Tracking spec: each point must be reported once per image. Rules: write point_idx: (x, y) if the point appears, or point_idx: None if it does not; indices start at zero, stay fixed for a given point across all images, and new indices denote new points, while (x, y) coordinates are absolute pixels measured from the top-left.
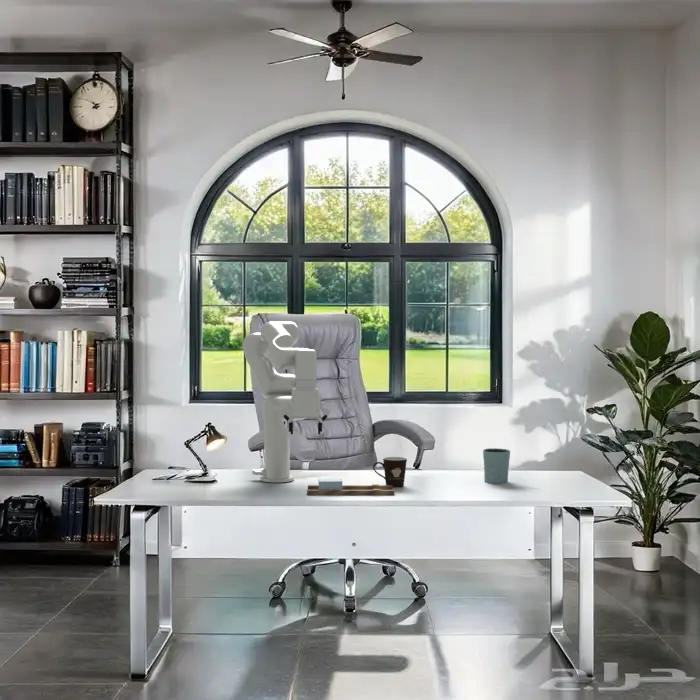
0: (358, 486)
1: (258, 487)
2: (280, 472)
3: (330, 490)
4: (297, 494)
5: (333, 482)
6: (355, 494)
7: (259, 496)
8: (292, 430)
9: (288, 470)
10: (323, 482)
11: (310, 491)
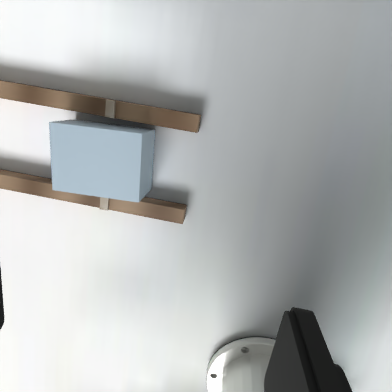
0: (12, 176)
1: (345, 283)
2: (256, 373)
3: (110, 100)
4: (234, 131)
5: (86, 125)
6: (29, 85)
7: (389, 113)
8: (298, 340)
9: (225, 388)
10: (126, 131)
11: (186, 113)
